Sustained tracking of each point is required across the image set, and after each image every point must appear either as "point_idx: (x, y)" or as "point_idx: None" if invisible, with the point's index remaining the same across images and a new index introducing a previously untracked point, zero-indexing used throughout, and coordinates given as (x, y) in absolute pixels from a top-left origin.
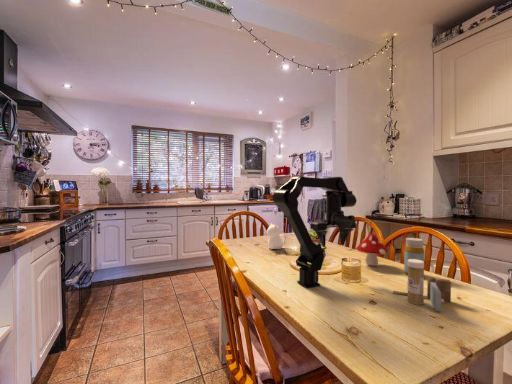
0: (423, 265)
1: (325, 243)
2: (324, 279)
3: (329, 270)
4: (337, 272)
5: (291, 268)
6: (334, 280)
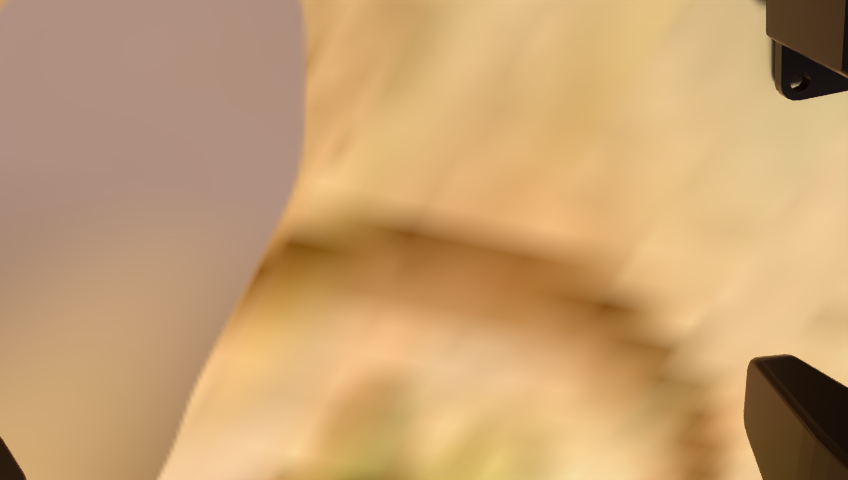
0: None
1: (830, 446)
2: (564, 74)
3: (332, 340)
4: (262, 264)
5: (740, 474)
6: (445, 7)
